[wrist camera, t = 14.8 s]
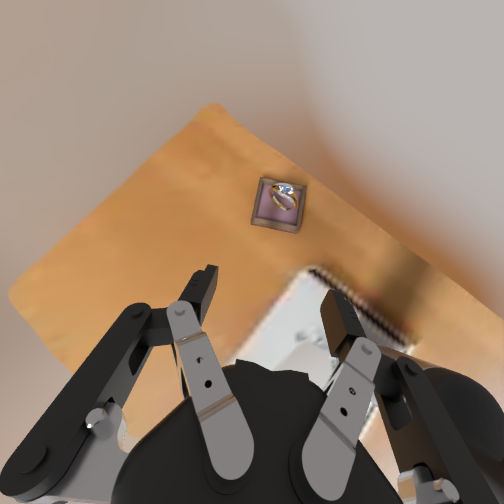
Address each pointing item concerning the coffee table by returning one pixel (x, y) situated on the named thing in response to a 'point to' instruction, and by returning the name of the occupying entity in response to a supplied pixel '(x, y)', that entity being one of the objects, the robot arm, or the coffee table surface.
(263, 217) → the jewellery tray
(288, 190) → the ring
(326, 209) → the coffee table surface
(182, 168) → the coffee table surface
